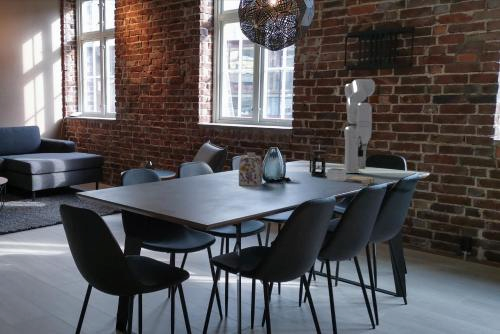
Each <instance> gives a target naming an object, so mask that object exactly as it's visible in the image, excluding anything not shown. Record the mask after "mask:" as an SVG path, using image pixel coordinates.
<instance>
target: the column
mask: <svg viewBox="0 0 500 334" xmlns="http://www.w3.org/2000/svg"><path fill="white" fill-rule="evenodd" d="M366 145H367V146H368V144H364V145H363V157H358V169H359V170H365V169H366V160H367V158H366V157H367V149H366ZM361 147H362V145H361Z"/></svg>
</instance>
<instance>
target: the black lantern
mask: <svg viewBox="0 0 500 334" xmlns="http://www.w3.org/2000/svg"><path fill="white" fill-rule="evenodd" d="M316 143H318V149H314V150H312V155H316V156H320V155H326V153H327V150H323V149H321V147H320V145H321V143H323V140H316ZM317 162H318V164H317ZM320 162H321V166H320ZM326 162H327V158H323V157H310V158H309V173H310V175H311V177H313V178H327V172H326ZM317 170H320V171H317Z"/></svg>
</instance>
